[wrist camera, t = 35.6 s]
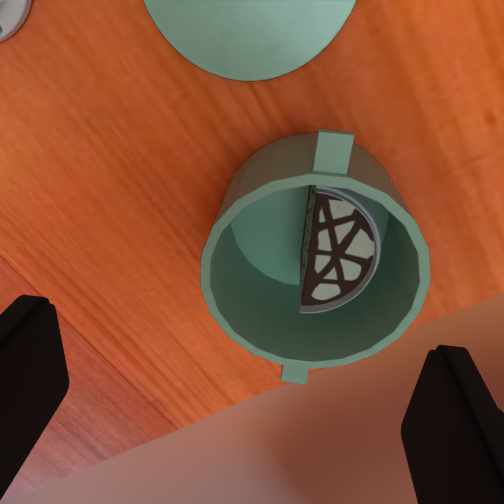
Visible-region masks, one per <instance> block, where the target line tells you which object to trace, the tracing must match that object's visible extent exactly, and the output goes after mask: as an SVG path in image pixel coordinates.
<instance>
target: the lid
mask: <svg viewBox="0 0 504 504" xmlns="http://www.w3.org/2000/svg"><path fill="white" fill-rule="evenodd" d="M143 1H144V3H145V6H146V8H147V10H148V12H149V14H150V16H151V18H152V19H153V21H154V23H155V24H156V26H157V28H158V29H159V30H160V32H161V33H162V34H163V36H164V37H165V38H166V40H167V41H168V42H169V43H170V44H171V45H172V46H173V47H174V48H175V49H176V50H177V51H178V52H179V53H180V54H181V55H182V56H184V57H185V58H186V59H187V60H188V61H190V62H192V63H193V64H195V65H196V66H198V67H199V68H201V69H203V70H205V71H207V72H210V73H212V74H214V75H217V76H220V77H224V78H227V79H233V80H239V81H258V80H267V79H271V78H275V77H279V76H282V75H284V74H287V73H289V72H292V71H294V70H296V69H297V68H299V67H301V66H303V65H304V64H306V63H308V62H309V61H310V60H311V59H313V58H314V57H315V56H317V55H318V54H319V53H320V52H321V51H322V50H323V49H324V48H325V47H326V46H327V45H328V44H329V43H330V42H331V41H332V40H333V39H334V37H335V36H336V35H337V33H338V32H339V31H340V30H341V28H342V27H343V25H344V23H345V22H346V20H347V18H348V17H349V15H350V13H351V11H352V9H353V7H354V5H355V3H356V1H357V0H143Z"/></svg>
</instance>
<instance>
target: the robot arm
mask: <svg viewBox="0 0 504 504" xmlns="http://www.w3.org/2000/svg"><path fill="white" fill-rule="evenodd" d="M31 2H32V0H0V42H1V41H4V40H6V39H8V38H9V37H11V36H12V35H13V34H14V33H16V32H17V31H18V29H19V28H20V27H21V26H22V24H23V23H24V21H25V19H26V17H27V15H28V13H29V11H30V7H31ZM1 27H2V29H1ZM68 388H69V376H68V371H67V365H66V360H65V355H64V350H63V344H62V339H61V334H60V329H59V323H58V318H57V313H56V308H55V306H54V305H53V304H50V302H49V300H48V299H47V298H45V297H39V296H30V295H21V296H19V297H18V298H17V299H16V300H15V301H14V302H13V303H12V304H11V305H10V306H9V307H8V308H7V309H6V310H5V311H4V312H3V313H2V314H1V315H0V500H1V498H2V497H3V495H4V494H5V492H6V490H7V489H8V487H9V486H10V484H11V482H12V481H13V479H14V478H15V476H16V474H17V473H18V471H19V469H20V468H21V466H22V465H23V463H24V461H25V460H26V458H27V457H28V455H29V453H30V452H31V450H32V449H33V447H34V445H35V444H36V442H37V440H38V439H39V437H40V436H41V434H42V432H43V431H44V429H45V428H46V426H47V424H48V423H49V421H50V420H51V418H52V416H53V415H54V413H55V411H56V410H57V408H58V407H59V405H60V403H61V402H62V400H63V399H64V397H65V395H66V393H67V391H68ZM401 437H402V442H403V446H404V450H405V454H406V458H407V462H408V465H409V470H410V474H411V477H412V482H413V485H414V489H415V493H416V497H417V501H418V504H504V413H503V412H502V411H501V410H500V409H498V408H497V406H496V404H495V402H494V400H493V398H492V396H491V394H490V392H489V390H488V389H487V387H486V385H485V383H484V381H483V379H482V377H481V375H480V373H479V371H478V369H477V367H476V366H475V364H474V362H473V360H472V358H471V356H470V354H469V352H468V351H467V349H466V348H464V347H456V346H448V345H439V346H438V347H437V348H436V350H430V351H429V352H428V354H427V357H426V360H425V362H424V365H423V368H422V371H421V373H420V376H419V378H418V381H417V384H416V387H415V389H414V392H413V395H412V397H411V400H410V403H409V405H408V408H407V411H406V414H405V416H404V419H403V422H402V425H401Z"/></svg>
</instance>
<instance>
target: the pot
mask: <svg viewBox="0 0 504 504" xmlns="http://www.w3.org/2000/svg"><path fill="white" fill-rule="evenodd" d="M353 141H354V134H353V132H350V131H339V130H329V129H318V131H317V133H304V134H295V135H291V136H287V137H283V138H281V139H278V140H275V141H273V142H271V143H269V144H267V145H265V146H263V147H262V148H260V149H259V150H258V151H256V152H255V153H253V154H252V155H251V156H250V157H249V158H248V159H247V160H246V161H245V162H244V163H243V165H242V166H241V167H240V168H239V170H238V171H237V172H236V173H235V174H234V176H233V178H232V181H231V183H230V185H229V188H228V190H227V193H226V195H225V198H224V200H223V202H222V205H221V207H220V210H219V212H218V214H217V217H216V219H215V222H214V224H213V227H212V229H211V231H210V234H209V236H208V239H207V241H206V244H205V246H204V249H203V251H202V254H201V270H200V287H201V289H202V292H203V295H204V298H205V301H206V304H207V306H208V309H209V312H210V314H211V315H212V317H213V318H214V319H215V320H216V322H217V323H218V324H219V326H220V327H221V328H222V329H223V331H224V332H225V333H226V335H227V336H228V337H230V338H231V339H232V340H234V341H235V342H237V343H238V344H239V345H241V346H242V347H244V348H245V349H246V350H248V351H249V352H251V353H252V354H254V355H257V356H259V357H262V358H265V359H267V360H270V361H272V362H275V363H278V364H280V365H282V371H281V381H284V382H292V383H300V384H306V383H307V378H308V373H309V368H313V369H316V368H325V367H334V366H342V365H347V364H350V363H352V362H355V361H358V360H360V359H363V358H366V357H369V356H372V355H374V354H376V353H377V352H379V351H380V350H382V349H383V348H385V347H386V346H388V345H389V344H390V343H392V342H393V341H395V340H396V339H398V338H399V337H400V336H401V335H402V334H403V333H404V332H405V331H406V329H407V328H408V327H409V326H410V324H411V323H412V322H413V320H414V319H415V318H416V317H417V315H418V314H419V313H420V311H421V309H422V306H423V303H424V300H425V297H426V294H427V291H428V288H429V285H430V281H431V277H430V258H429V248H428V246H427V244H426V242H425V240H424V238H423V236H422V234H421V232H420V229H419V227H418V225H417V223H416V221H415V219H414V217H413V216H412V214H411V212H410V211H409V209H408V207H407V206H406V204H405V202H404V201H403V199H402V197H401V196H400V194H399V192H398V191H397V189H396V187H395V186H394V184H393V182H392V181H391V179H390V177H389V176H388V174H387V172H386V171H385V169H384V168H383V167H382V166H381V165H380V164H379V163H378V162H377V161H376V159H375V158H374V157H372V156H371V155H370V154H369V153H368V152H367V151H366V150H365V149H363V148H362V147H360V146H358V145H356V144H355V143H353ZM308 185H317V186H327V187H336V188H346V189H349V190H352V191H354V192H356V193H359V194H361V195H362V196H363V198H364V199H365V200H366V201H367V202H368V203H369V204H370V206H371V207H372V209H373V210H374V212H375V214H376V217H377V219H378V221H379V225H380V230H381V251H380V258H379V262H378V265H377V268H376V271H375V273H374V274H373V276H372V278H371V280H370V281H369V283H368V284H367V285H366V287H365V288H364V289H363V290H362V291H361V292H360V293H359V294H358V295H357V296H356V297H355V298H353V299H352V300H350V301H349V302H347V303H345V304H343V305H341V306H340V307H337V308H334V309H331V310H328V311H324V312H319V313H300V311H299V303H300V246H301V238H302V230H303V222H304V214H305V207H306V199H307V191H308Z"/></svg>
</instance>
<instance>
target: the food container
mask: <svg viewBox="0 0 504 504" xmlns="http://www.w3.org/2000/svg"><path fill="white" fill-rule="evenodd" d="M380 251H381V230H380V225H379V221H378V219H377V217H376V214H375V212H374V210H373V209H372V207H371V206H370V204H369V203H368V202H367V201H366V200H365V199H364V198H363V196H362V195H361V194H359V193H356V192H354V191H352V190H349V189H346V188H336V187H327V186H317V185H308V191H307V199H306V207H305V214H304V222H303V230H302V238H301V246H300V303H299V311H300V313H319V312H324V311H328V310H331V309H334V308H337V307H340V306H341V305H343V304H345V303H347V302H349V301H350V300H352V299H353V298H355V297H356V296H357V295H358V294H359V293H360V292H361V291H362V290H363V289H364V288H365V287H366V285H367V284H368V283H369V281H370V280H371V278H372V276H373V274H374V273H375V271H376V268H377V265H378V262H379V258H380Z"/></svg>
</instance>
